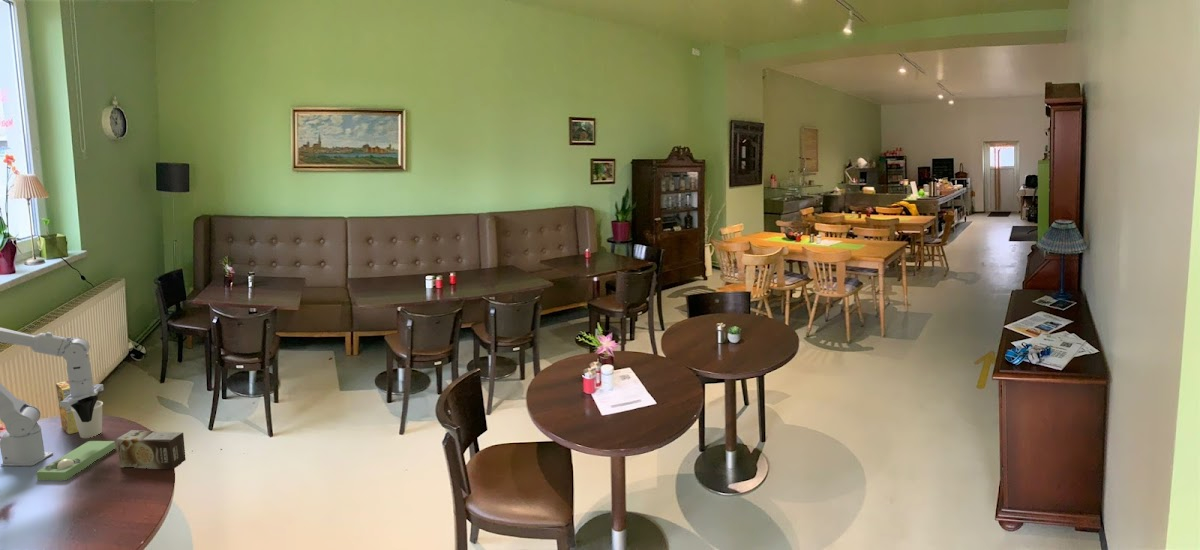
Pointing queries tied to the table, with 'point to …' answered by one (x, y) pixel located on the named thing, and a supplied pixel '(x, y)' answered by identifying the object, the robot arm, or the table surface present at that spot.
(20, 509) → the table surface
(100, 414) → the dixie cup
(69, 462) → the ball
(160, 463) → the coffee box
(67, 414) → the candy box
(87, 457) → the putting mat
